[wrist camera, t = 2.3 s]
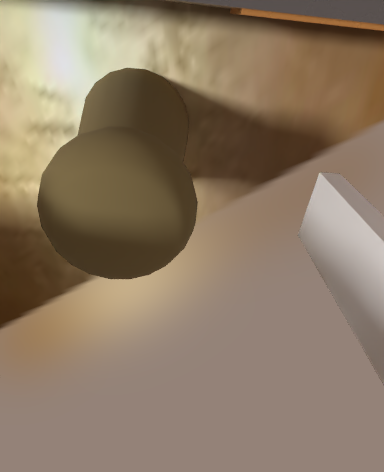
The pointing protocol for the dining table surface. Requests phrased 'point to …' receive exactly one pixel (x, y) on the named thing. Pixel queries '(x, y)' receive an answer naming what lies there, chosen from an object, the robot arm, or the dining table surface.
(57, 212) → the olive pawn-shaped piece
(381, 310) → the robot arm
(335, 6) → the rack
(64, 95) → the dining table surface
